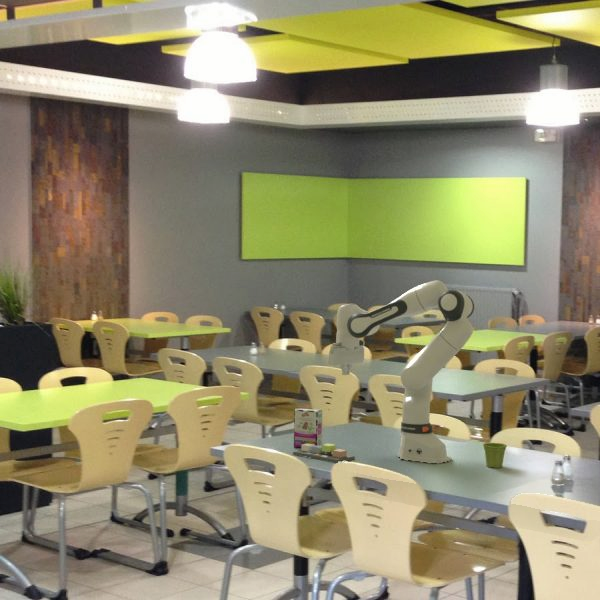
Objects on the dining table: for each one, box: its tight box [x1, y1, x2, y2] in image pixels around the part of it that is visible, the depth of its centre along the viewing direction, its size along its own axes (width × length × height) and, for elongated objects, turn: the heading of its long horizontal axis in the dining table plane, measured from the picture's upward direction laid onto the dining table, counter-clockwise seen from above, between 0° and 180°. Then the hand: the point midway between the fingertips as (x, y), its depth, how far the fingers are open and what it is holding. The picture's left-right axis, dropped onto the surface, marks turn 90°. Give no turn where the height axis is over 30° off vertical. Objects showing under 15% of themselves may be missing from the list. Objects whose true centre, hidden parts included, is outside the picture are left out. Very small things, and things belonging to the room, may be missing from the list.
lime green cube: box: [322, 443, 337, 454], centre depth 450 cm, size 4×4×4 cm
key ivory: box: [300, 443, 315, 453], centre depth 458 cm, size 4×4×4 cm
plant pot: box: [482, 442, 508, 469], centre depth 439 cm, size 9×9×9 cm
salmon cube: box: [333, 448, 348, 459], centre depth 447 cm, size 4×4×4 cm
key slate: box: [312, 445, 325, 454], centre depth 454 cm, size 4×4×4 cm
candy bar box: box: [293, 407, 323, 449], centre depth 471 cm, size 11×5×16 cm, turn 62°
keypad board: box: [292, 449, 356, 464], centre depth 452 cm, size 23×11×2 cm, turn 49°
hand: (345, 374), depth 470 cm, fingers closed
